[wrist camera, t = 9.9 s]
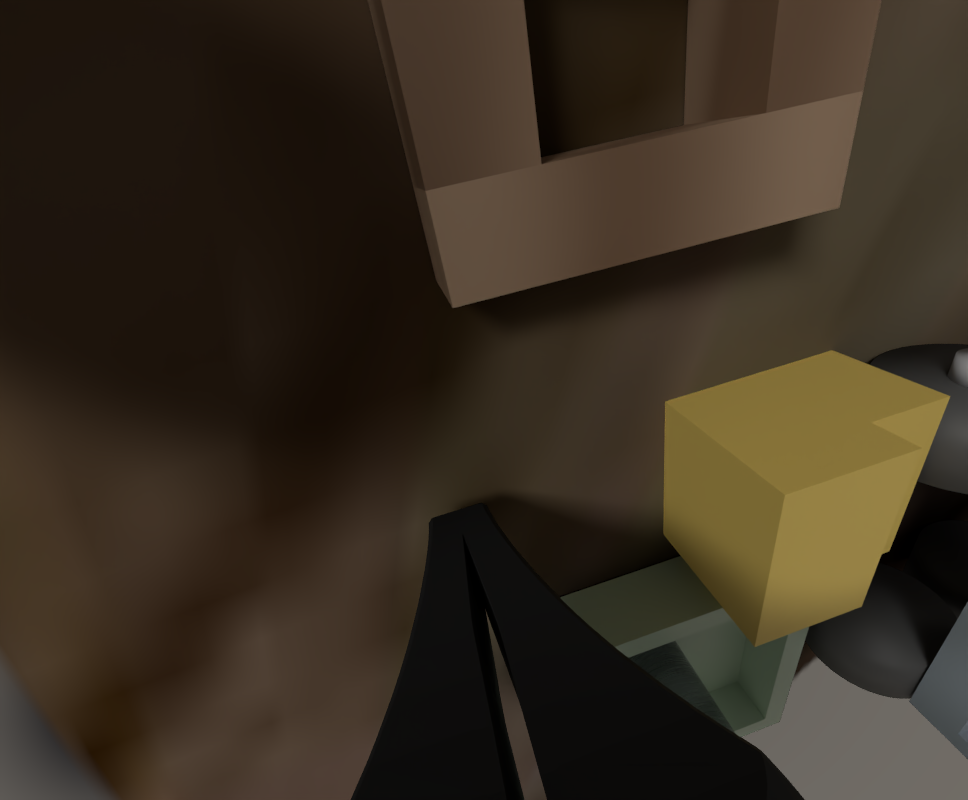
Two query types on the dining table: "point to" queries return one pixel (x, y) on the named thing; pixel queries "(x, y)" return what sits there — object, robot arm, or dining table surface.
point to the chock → (794, 486)
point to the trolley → (918, 576)
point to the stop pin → (680, 678)
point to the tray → (694, 638)
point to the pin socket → (625, 162)
